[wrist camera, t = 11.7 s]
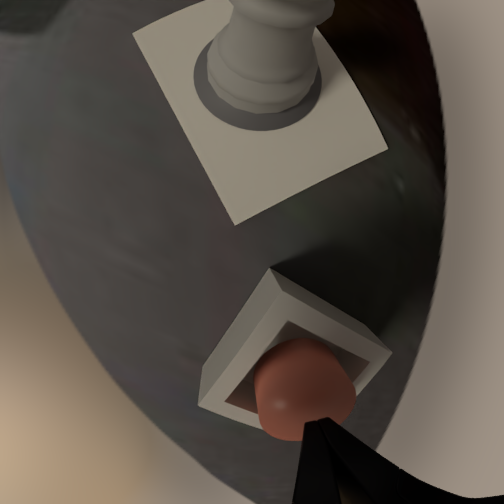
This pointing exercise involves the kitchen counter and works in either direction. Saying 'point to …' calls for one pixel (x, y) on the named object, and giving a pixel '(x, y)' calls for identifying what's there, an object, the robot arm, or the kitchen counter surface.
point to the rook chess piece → (266, 53)
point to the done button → (300, 387)
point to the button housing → (274, 332)
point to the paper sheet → (257, 116)
